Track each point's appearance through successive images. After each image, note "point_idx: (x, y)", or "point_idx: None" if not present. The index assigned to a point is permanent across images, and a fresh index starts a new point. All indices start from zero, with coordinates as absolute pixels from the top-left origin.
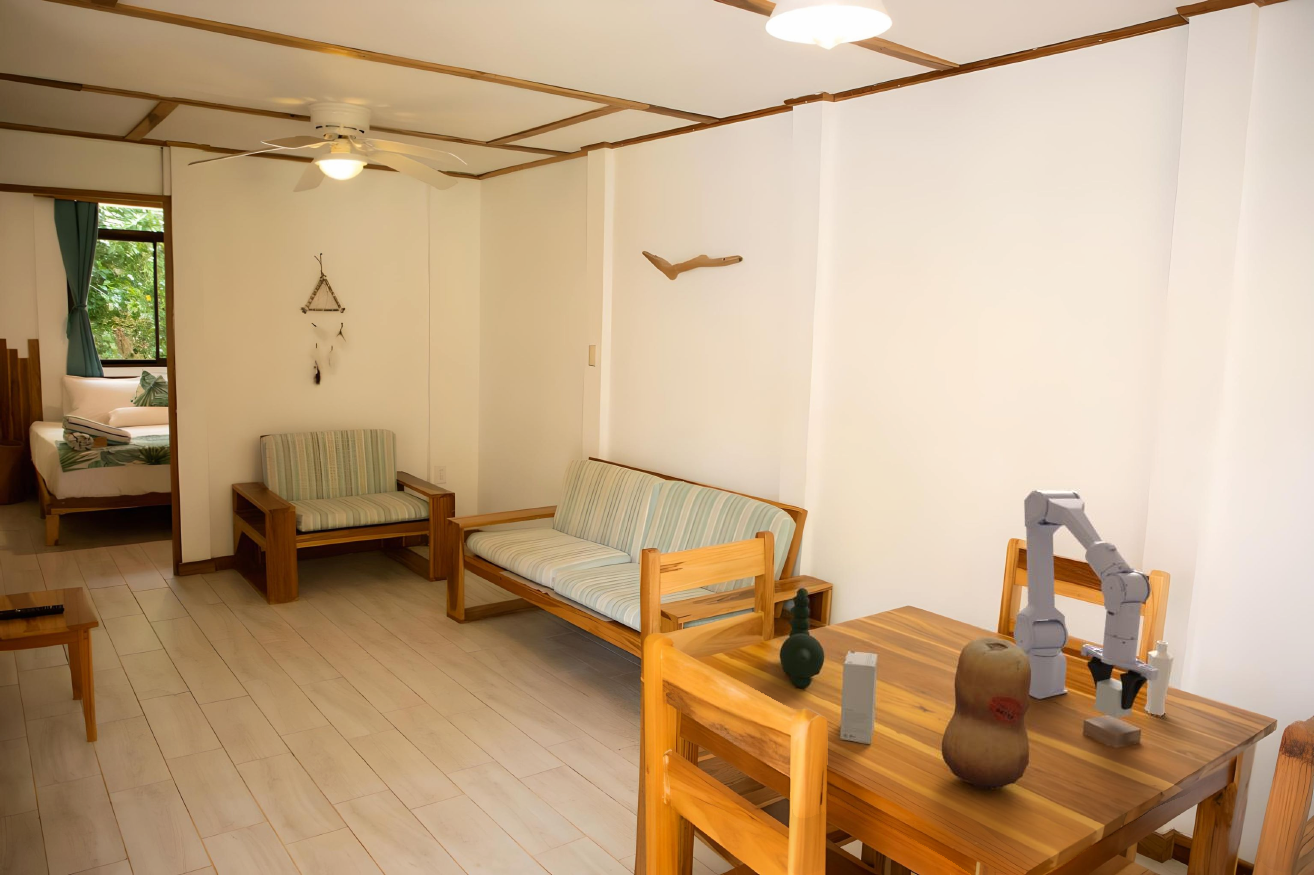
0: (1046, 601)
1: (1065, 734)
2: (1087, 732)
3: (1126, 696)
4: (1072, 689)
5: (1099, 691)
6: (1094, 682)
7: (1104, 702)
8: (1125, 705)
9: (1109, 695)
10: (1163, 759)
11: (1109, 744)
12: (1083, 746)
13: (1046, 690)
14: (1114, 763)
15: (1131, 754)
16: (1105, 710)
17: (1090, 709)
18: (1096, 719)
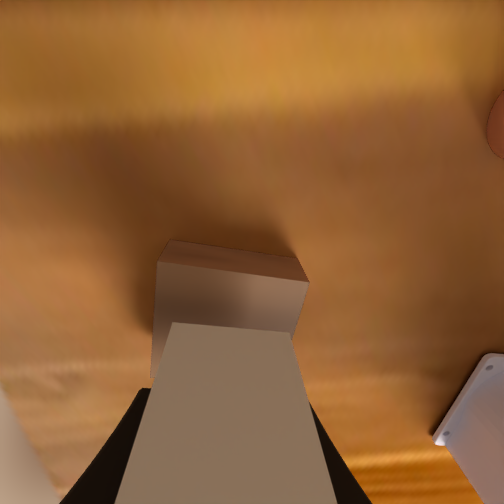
0: None
1: (330, 191)
2: (281, 259)
3: (85, 476)
4: (426, 458)
5: (291, 425)
6: (361, 489)
7: (242, 370)
8: (128, 411)
9: (211, 423)
10: (46, 297)
11: (191, 244)
12: (238, 148)
13: (486, 398)
14: (80, 104)
15: (113, 243)
16: (231, 339)
17: (352, 406)
18: (281, 322)
